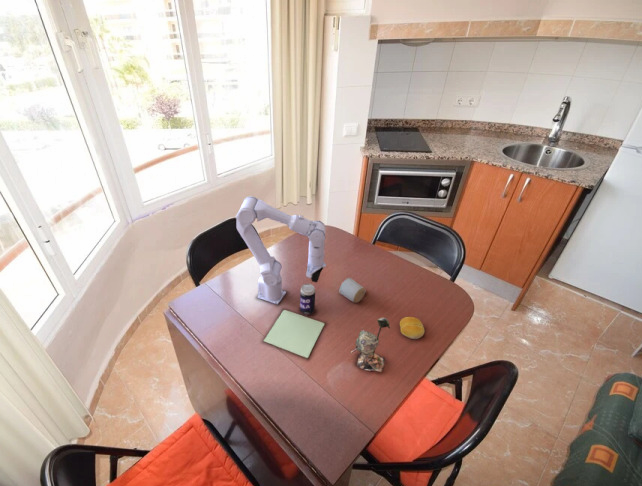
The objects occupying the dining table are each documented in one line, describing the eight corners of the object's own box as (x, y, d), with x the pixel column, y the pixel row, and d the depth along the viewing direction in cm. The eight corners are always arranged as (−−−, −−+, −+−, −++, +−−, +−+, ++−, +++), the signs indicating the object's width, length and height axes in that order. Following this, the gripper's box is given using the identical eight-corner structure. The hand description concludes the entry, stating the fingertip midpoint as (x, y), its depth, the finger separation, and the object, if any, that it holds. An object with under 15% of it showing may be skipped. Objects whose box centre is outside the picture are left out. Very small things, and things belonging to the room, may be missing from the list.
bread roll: (401, 338, 115) (403, 331, 112) (398, 320, 122) (400, 312, 119) (425, 341, 113) (428, 334, 111) (421, 322, 120) (423, 315, 118)
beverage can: (299, 306, 129) (299, 283, 122) (313, 305, 129) (314, 282, 123) (301, 316, 125) (301, 293, 118) (315, 315, 125) (316, 292, 118)
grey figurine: (356, 345, 113) (363, 304, 101) (388, 360, 107) (399, 319, 96) (346, 361, 107) (352, 320, 96) (379, 379, 102) (390, 337, 90)
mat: (263, 341, 115) (263, 340, 115) (284, 310, 128) (283, 309, 127) (307, 358, 109) (307, 358, 109) (324, 323, 121) (324, 323, 121)
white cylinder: (353, 307, 128) (356, 292, 123) (338, 296, 133) (339, 282, 129) (370, 295, 133) (372, 280, 129) (354, 285, 139) (356, 271, 134)
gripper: (319, 266, 112) (317, 295, 120) (332, 245, 123) (330, 272, 131) (300, 261, 115) (300, 290, 123) (315, 241, 125) (314, 268, 133)
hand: (314, 280), depth 127 cm, fingers closed
